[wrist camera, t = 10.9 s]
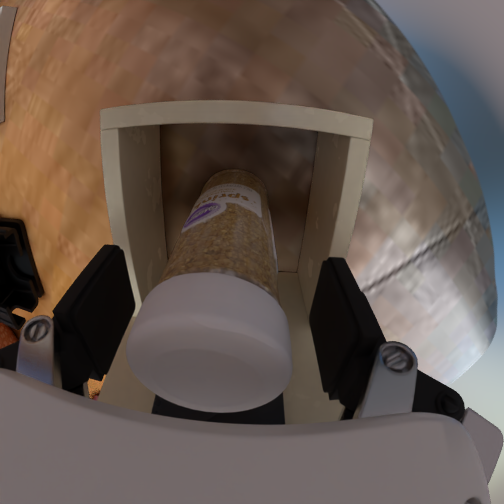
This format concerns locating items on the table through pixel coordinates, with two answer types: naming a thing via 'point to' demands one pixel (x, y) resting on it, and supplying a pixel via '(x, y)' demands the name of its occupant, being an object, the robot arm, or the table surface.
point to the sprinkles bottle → (217, 307)
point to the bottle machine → (289, 283)
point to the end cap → (16, 273)
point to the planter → (6, 336)
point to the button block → (4, 48)
